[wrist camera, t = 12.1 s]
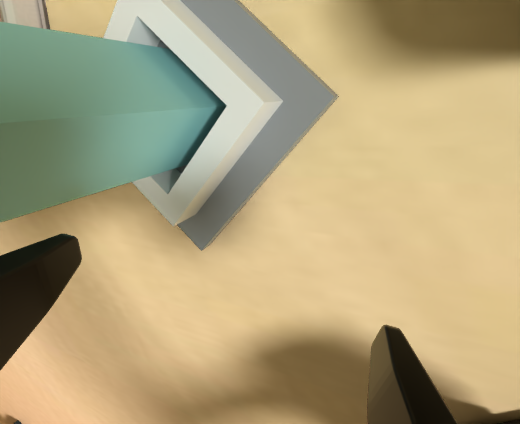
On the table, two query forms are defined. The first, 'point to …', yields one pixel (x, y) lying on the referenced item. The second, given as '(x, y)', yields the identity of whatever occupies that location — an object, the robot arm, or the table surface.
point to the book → (25, 13)
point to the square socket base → (234, 96)
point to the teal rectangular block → (91, 115)
